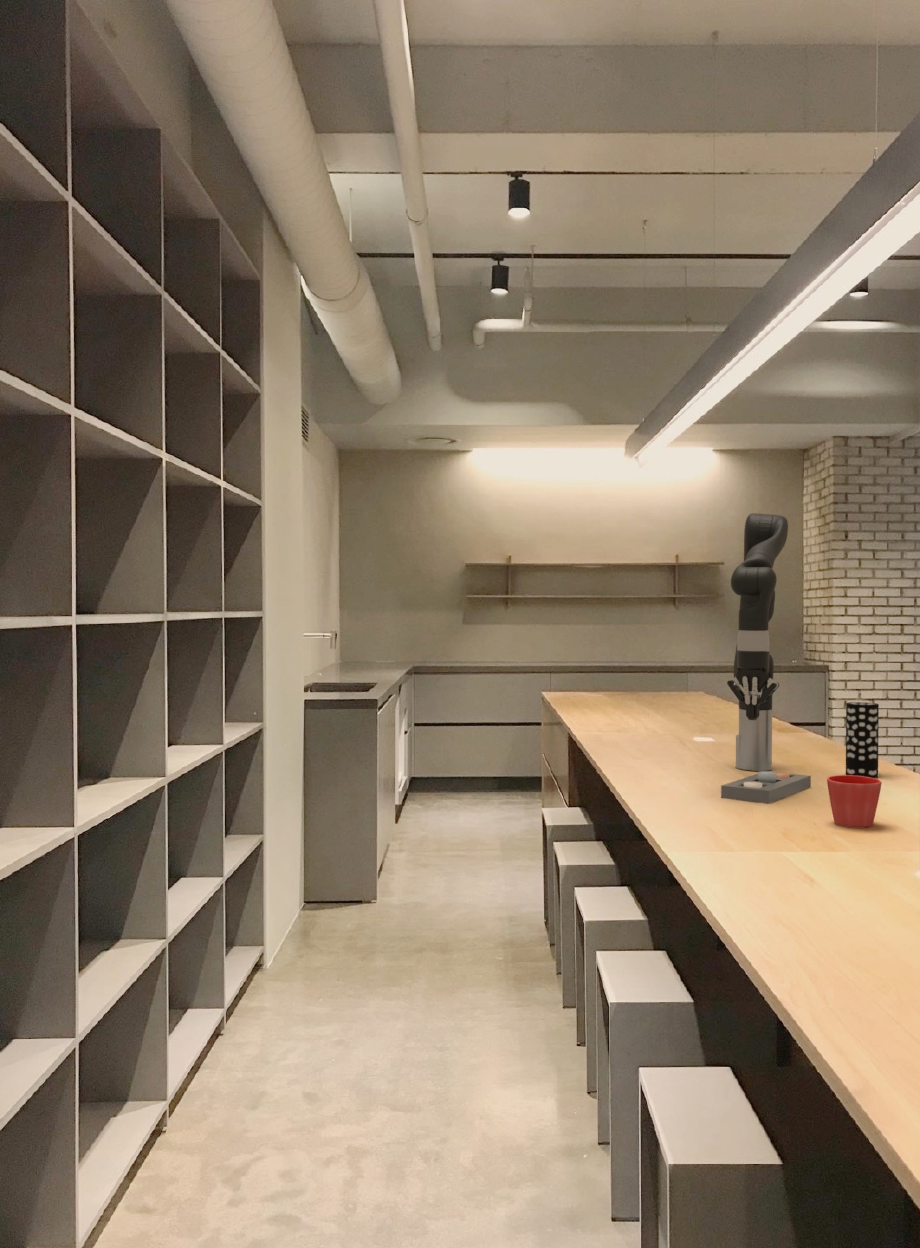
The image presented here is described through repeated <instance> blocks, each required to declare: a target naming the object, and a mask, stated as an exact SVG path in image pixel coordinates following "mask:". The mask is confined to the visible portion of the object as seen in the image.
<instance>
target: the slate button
mask: <svg viewBox="0 0 920 1248" xmlns="http://www.w3.org/2000/svg"><path fill="white" fill-rule="evenodd" d="M776 772H777V771H771V770H767V771H757V774H758V781H759V782H768V783H776Z"/></svg>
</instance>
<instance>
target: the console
mask: <svg viewBox="0 0 920 1248" xmlns="http://www.w3.org/2000/svg"><path fill="white" fill-rule="evenodd" d="M787 773H788V772H787ZM788 774H790V778H779V777H776V783H768V782H760V783H762V788H754V787H745V786H744V782H759V781H758V773H755V774H752V775H749V776H746V777H744V778H740V779H737V780H733V781H731V782H728V783H725V784H722V785H721V786H720V790H721V791H720V797H721V799H729V800H737V801H746V802H752V803H761V804H772V803H774V802H776V801H780V800H782V799H784V798H788V797H789V796H792V795H794V794H797V793H799V792H800V793H801V792H802V791H805V790H807V789H809V788H811V777H812V776H811V775H807V774H797V773H788Z"/></svg>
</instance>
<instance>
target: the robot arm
mask: <svg viewBox="0 0 920 1248" xmlns="http://www.w3.org/2000/svg"><path fill="white" fill-rule="evenodd" d="M788 533H789V521H788V519H787V517H785V516H783V515H780V514H769V513H758V512H755V513H753V512H752V513H749V515H747V517H746V520H745V524H744V536H743V562H741V563H740V564H738V566H736V568H735V569H734V571H733V573H732V574H731V579H730V587H731V589H732V592H734V594H735V595H738V596H740V598H739V609H738V632H737V640H736V641H737V642H736V648H735V653H734V654H735V655H734V662H733V668H732V670H733V678H731V680H727V682H726V683H727V686H728V687H729V689H730V690H731V691H732V693H733V694H734V695H735V697H736V698H737V699H738V734H737V735H735V769H739V770H744V771H753V772H755V771H756V772H759V771H771V770H772V769H773V694H774V693H775V692H776V691H777V689H778V688H779V687H780V683H779V682H778V681H777V682H776V681H775V680H774V668H775V667H774V666H775V664H774V659H773V656H772V655H771V654H770V648H771V647H770V646H771V645H770V636H769V635H770V634H769V622H771V619H772V618H773V616H774V614H775V613H774V611H775V602H776V591H775V589H776V586H777V574H776V572H775V570H774V569H773V568H774V564H775V561H776V559H777V557H778V556H779V555H780V554H781V551H782V550H783V549H784V548H785V545H786V543H787V540H788V539H787V538H788ZM740 686H741V687H742V688H741V687H740ZM742 689H743V690H742Z"/></svg>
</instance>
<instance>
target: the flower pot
mask: <svg viewBox="0 0 920 1248" xmlns="http://www.w3.org/2000/svg"><path fill="white" fill-rule="evenodd" d="M826 783H827V789H828V790H827V791H828V796H829V797H828V798H829V802H830V808H831V813H832V817H833V823H835V825H837V826H840V827H845V828H853V829H854V828H857V829H863V828H870V827H873V826H874V821H875V817H876V814H877V813H876V812H877V808H878V805H879V800H880V794H881V790H882V784H883V783H882V781H881V780H880V779H878V778H870V777H864V776H854V775H846V774H841V775H839V774H837V775H830V776H828V777H827V778H826Z"/></svg>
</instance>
